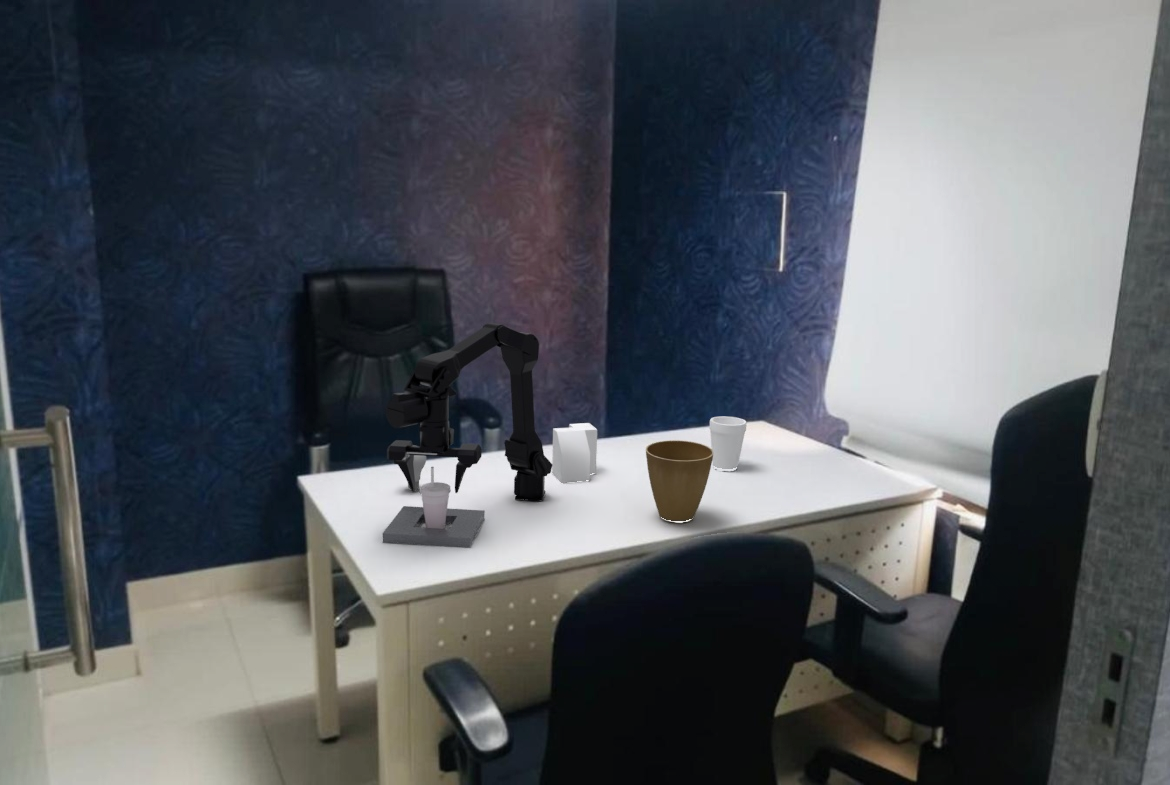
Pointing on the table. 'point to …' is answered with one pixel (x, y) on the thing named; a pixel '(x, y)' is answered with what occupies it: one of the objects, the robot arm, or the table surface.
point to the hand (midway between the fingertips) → (434, 491)
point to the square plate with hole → (458, 535)
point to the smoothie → (435, 502)
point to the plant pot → (678, 476)
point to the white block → (574, 452)
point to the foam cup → (727, 440)
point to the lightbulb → (418, 468)
